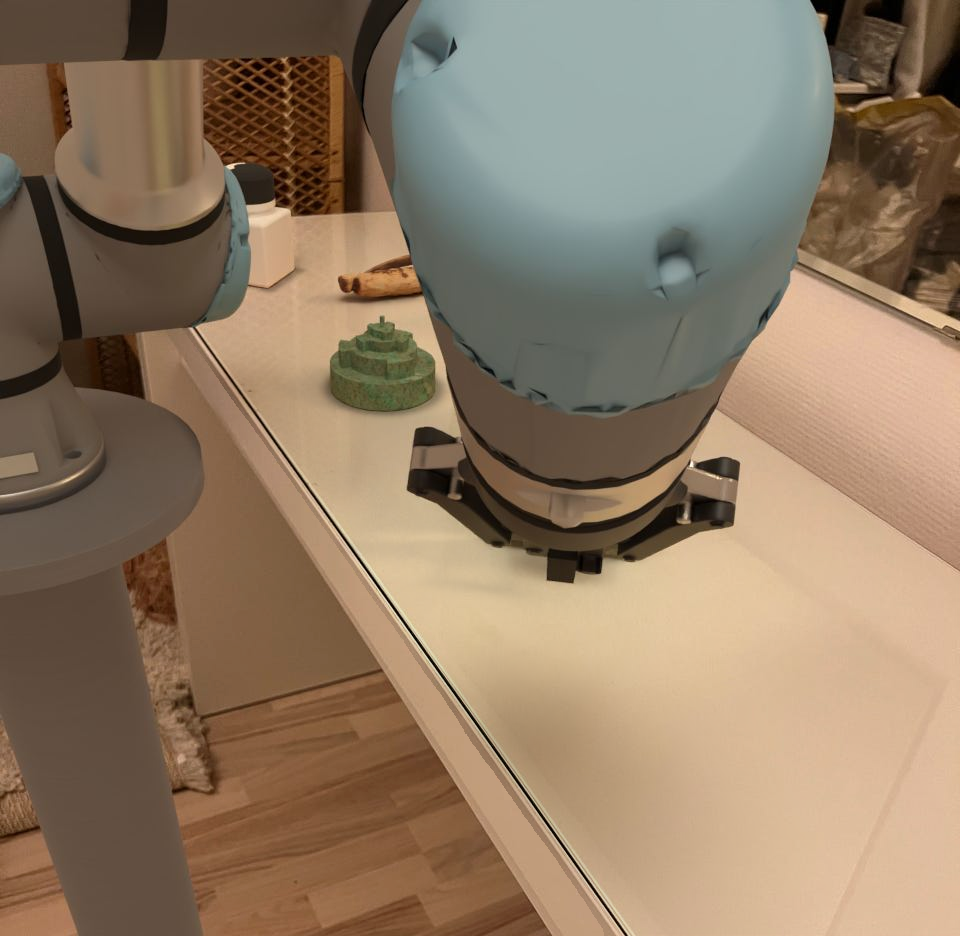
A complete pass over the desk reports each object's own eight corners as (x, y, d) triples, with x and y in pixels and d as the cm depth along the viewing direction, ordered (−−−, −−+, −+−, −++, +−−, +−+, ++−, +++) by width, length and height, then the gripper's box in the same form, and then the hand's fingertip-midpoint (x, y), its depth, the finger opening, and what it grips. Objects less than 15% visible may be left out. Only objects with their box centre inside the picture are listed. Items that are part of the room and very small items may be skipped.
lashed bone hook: (453, 270, 124) (318, 285, 116) (455, 230, 121) (316, 243, 113) (490, 292, 117) (349, 309, 110) (492, 251, 114) (348, 266, 107)
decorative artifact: (353, 418, 90) (452, 400, 94) (351, 344, 86) (454, 328, 90) (316, 375, 97) (409, 360, 101) (311, 304, 93) (409, 291, 96)
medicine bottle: (295, 270, 120) (288, 163, 112) (268, 289, 114) (259, 178, 107) (242, 261, 121) (231, 155, 114) (213, 280, 116) (199, 169, 108)
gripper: (356, 505, 31) (436, 611, 54) (780, 552, 30) (675, 639, 53) (389, 276, 32) (454, 478, 55) (803, 315, 31) (689, 504, 54)
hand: (562, 557), depth 54 cm, fingers closed
